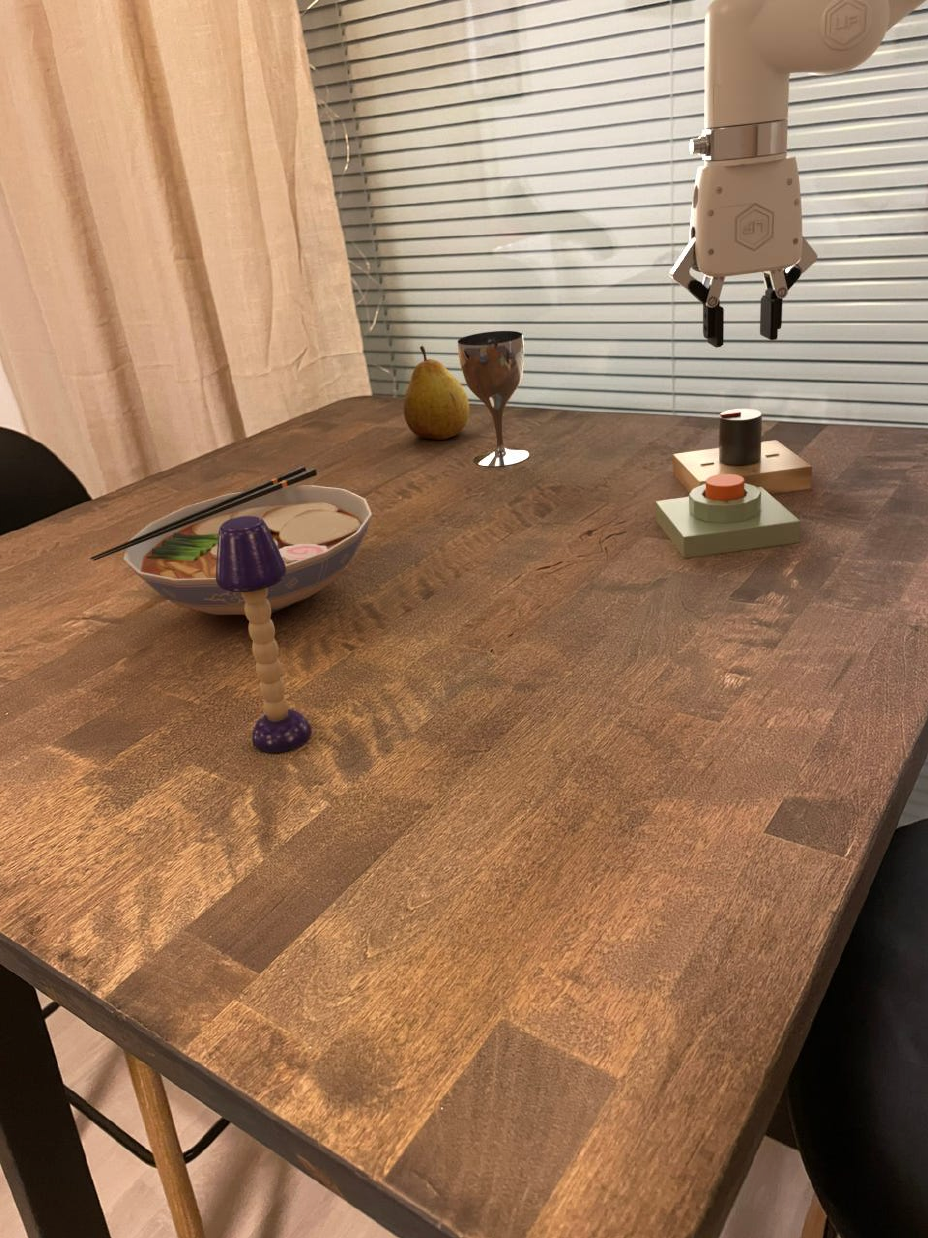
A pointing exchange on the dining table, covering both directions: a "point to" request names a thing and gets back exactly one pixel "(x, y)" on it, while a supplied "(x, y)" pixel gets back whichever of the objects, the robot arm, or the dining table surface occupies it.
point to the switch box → (726, 522)
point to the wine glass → (494, 383)
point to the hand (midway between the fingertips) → (741, 339)
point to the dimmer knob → (740, 437)
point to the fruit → (435, 402)
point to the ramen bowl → (297, 519)
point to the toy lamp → (260, 624)
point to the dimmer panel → (747, 469)
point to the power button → (725, 487)
